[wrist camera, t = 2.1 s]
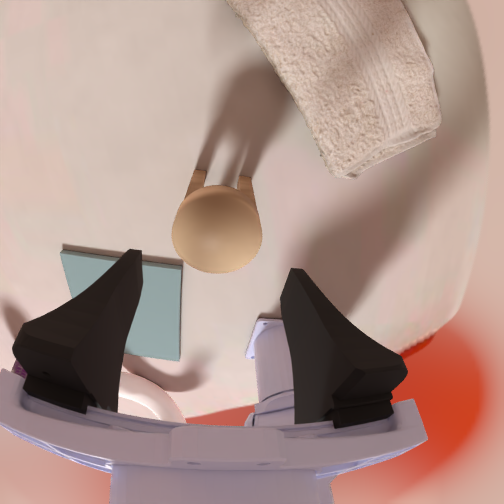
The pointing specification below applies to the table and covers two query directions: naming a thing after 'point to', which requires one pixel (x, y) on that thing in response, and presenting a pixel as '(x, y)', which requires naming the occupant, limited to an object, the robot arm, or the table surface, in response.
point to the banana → (150, 397)
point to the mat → (150, 305)
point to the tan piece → (217, 226)
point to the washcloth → (349, 75)
